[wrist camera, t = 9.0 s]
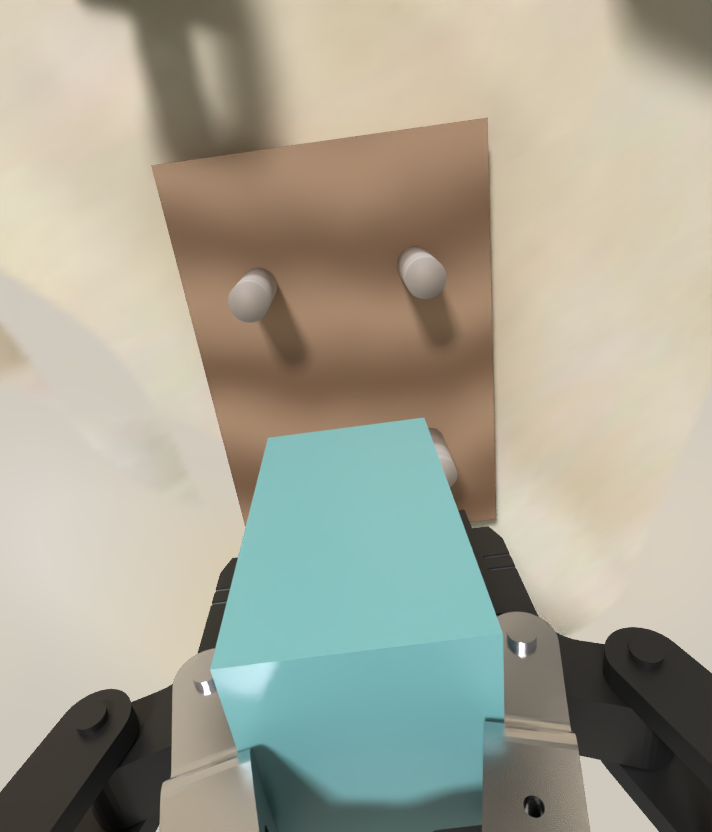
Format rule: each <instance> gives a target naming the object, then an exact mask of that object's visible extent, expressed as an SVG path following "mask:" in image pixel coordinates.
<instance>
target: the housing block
mask: <svg viewBox="0 0 712 832" xmlns="http://www.w3.org/2000/svg"><path fill="white" fill-rule="evenodd" d="M210 671H211V674H212V677H213V680H214V683H215V686H216V689H217V692H218V695H219V698H220V701H221V704H222V706H223V709H224V712H225V715H226V718H227V721H228V724H229V727H230V730H231V733H232V736H233V739H234V742H235V745H236V748H237V751H241V750H246V749H251V748H253V751H254V754H255V757H256V760H257V763H258V766H259V770H260V774H261V779H262V783H263V787H264V791H265V794H266V797H267V800H268V803H269V806H270V809H271V813H272V816H273V819H274V822H275V825H277V826H278V829H279V832H433V831H435V830H441V829H449V828H458V827H467V826H475V825H482V790H483V727H484V721H485V720H504V663H503V632H502V630H501V627H500V624H499V621H498V619H497V616H496V613H495V610H494V608H493V605H492V602H491V599H490V597H489V594H488V591H487V588H486V586H485V583H484V580H483V577H482V575H481V572H480V569H479V567H478V564H477V561H476V558H475V556H474V553H473V550H472V547H471V545H470V542H469V539H468V536H467V534H466V531H465V528H464V525H463V523H462V520H461V517H460V514H459V512H458V509H457V506H456V503H455V501H454V498H453V495H452V492H451V490H450V487H449V484H448V481H447V479H446V476H445V473H444V470H443V468H442V465H441V462H440V459H439V457H438V454H437V451H436V448H435V446H434V443H433V440H432V437H431V435H430V432H429V429H428V426H427V424H426V421H425V418H417V419H409V420H401V421H394V422H386V423H378V424H370V425H363V426H355V427H347V428H340V429H332V430H324V431H317V432H309V433H301V434H294V435H286V436H278V437H271V438H268V440H267V444H266V448H265V452H264V456H263V460H262V464H261V468H260V472H259V476H258V480H257V484H256V488H255V492H254V496H253V500H252V504H251V508H250V512H249V516H248V520H247V524H246V528H245V532H244V536H243V540H242V544H241V548H240V552H239V556H238V560H237V564H236V568H235V572H234V576H233V580H232V584H231V588H230V592H229V596H228V600H227V604H226V608H225V612H224V616H223V620H222V624H221V628H220V632H219V636H218V640H217V644H216V648H215V652H214V656H213V660H212V664H211V668H210Z"/></svg>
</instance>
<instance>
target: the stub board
mask: <svg viewBox="0 0 712 832" xmlns="http://www.w3.org/2000/svg"><path fill="white" fill-rule="evenodd" d="M151 166H152V170H153V174H154V178H155V181H156V185H157V189H158V193H159V197H160V201H161V204H162V208H163V212H164V216H165V220H166V224H167V228H168V231H169V235H170V239H171V243H172V247H173V251H174V254H175V258H176V262H177V266H178V270H179V274H180V277H181V281H182V285H183V289H184V293H185V297H186V300H187V304H188V308H189V312H190V316H191V320H192V324H193V327H194V331H195V335H196V339H197V343H198V347H199V350H200V354H201V358H202V362H203V366H204V370H205V373H206V377H207V381H208V385H209V389H210V393H211V397H212V400H213V404H214V408H215V412H216V416H217V420H218V423H219V427H220V431H221V435H222V439H223V443H224V446H225V450H226V454H227V458H228V462H229V466H230V469H231V473H232V477H233V481H234V485H235V489H236V493H237V496H238V500H239V504H240V507H241V512H242V516H243V519H244V523H245V527H246V524H247V520H248V516H249V512H250V508H251V504H252V500H253V496H254V492H255V488H256V484H257V480H258V476H259V472H260V468H261V464H262V460H263V456H264V452H265V448H266V444H267V440H268V438H271V437H278V436H286V435H294V434H301V433H309V432H317V431H324V430H332V429H340V428H347V427H355V426H363V425H370V424H378V423H386V422H394V421H401V420H409V419H417V418H425V421H426V424H427V426H428V429H429V432H430V435H431V437H432V440H433V443H434V446H435V448H436V451H437V454H438V457H439V459H440V462H441V465H442V468H443V470H444V473H445V476H446V479H447V481H448V484H449V487H450V490H451V492H452V495H453V498H454V501H455V503H456V506H457V509H458V510H461V509H464V510H465V512H466V514H467V517H468V520H469V522H474V521H482V520H490V519H496V488H495V442H494V396H493V349H492V303H491V257H490V210H489V164H488V118H482V119H475V120H468V121H461V122H454V123H447V124H440V125H433V126H426V127H419V128H412V129H405V130H398V131H391V132H384V133H377V134H369V135H362V136H355V137H348V138H341V139H334V140H327V141H320V142H313V143H306V144H299V145H292V146H285V147H278V148H271V149H264V150H256V151H249V152H242V153H235V154H228V155H221V156H214V157H207V158H200V159H193V160H186V161H179V162H172V163H165V164H158V165H151Z"/></svg>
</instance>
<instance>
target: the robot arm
mask: <svg viewBox="0 0 712 832" xmlns="http://www.w3.org/2000/svg"><path fill="white" fill-rule="evenodd" d="M458 512H459V514H460V517H461V520H462V523H463V525H464V528H465V531H466V534H467V536H468V539H469V542H470V545H471V547H472V550H473V553H474V556H475V558H476V561H477V564H478V567H479V569H480V572H481V575H482V577H483V580H484V583H485V586H486V588H487V591H488V594H489V597H490V599H491V602H492V605H493V608H494V610H495V613H496V616H497V619H498V621H499V624H500V627H501V630H502V632H503V663H504V720H485V721H484V727H483V790H482V825H475V826H467V827H458V828H449V829H441V830H435V831H433V832H590V826H589V819H588V812H587V805H586V798H585V791H584V785H583V777H582V771H581V764H580V757H579V755H580V756H586V757H590V758H595V759H599V760H601V761H602V763H603V764H604V765H605V767H606V768H607V769H608V770H609V772H610V773H611V774H612V775H613V776H614V777H615V779H616V780H617V781H618V783H619V784H620V785H621V786H622V787H623V788H624V790H625V791H626V792H627V793H628V794H629V796H630V797H631V798H632V799H633V801H634V802H635V803H636V804H637V805H638V807H639V808H640V809H641V810H642V812H643V813H644V814H645V815H646V816H647V818H648V819H649V820H650V821H651V822H652V823H653V825H654V826H655V827H656V828H657V830H658V831H659V832H712V673H710V672H709V671H708V670H707V669H706V668H704V667H703V666H702V665H701V664H700V663H698V662H697V661H696V660H695V659H694V658H692V657H691V656H690V655H689V654H687V653H686V652H685V651H684V650H683V649H681V648H680V647H679V646H678V645H676V644H675V643H674V642H673V641H671V640H670V639H669V638H667V637H665V636H663V635H662V634H659V633H657V632H655V631H652V630H649V629H644V628H636V627H629V628H623V629H619V630H617V631H615V632H613V633H612V634H611V635H610V636H609V637H608V638H607V640H606V642H605V644H599V643H592V642H586V641H579V640H574V639H570V638H567V637H565V636H562V635H560V634H558V633H556V632H555V630H554V629H553V628H552V627H551V626H550V625H549V624H548V623H547V622H546V621H545V620H543V619H542V618H540V617H539V616H538V615H537V613H536V611H535V608H534V606H533V604H532V602H531V600H530V597H529V595H528V593H527V591H526V589H525V586H524V584H523V582H522V580H521V578H520V576H519V573H518V571H517V569H516V568H515V565H514V562H513V560H512V558H511V556H510V555H509V551H508V549H507V547H506V545H505V543H504V540H503V538H502V537H500V536H499V535H498V534H497V533H496V532H494V531H493V530H492V529H491V528H490V527H480V528H472V527H471V525H470V522H469V520H468V517H467V514H466V512H465V510H464V509H461V510H458ZM237 560H238V558H232V559H231V561H230V562H229V563H228V564H227V566H226V567H225V568H224V569H223V571H222V572H221V574H220V576H219V580H218V584H217V587H216V592H215V594H214V597H213V601H212V606H211V608H210V612H209V615H208V619H207V622H206V626H205V629H204V633H203V637H202V640H201V644H200V647H199V651H198V654H197V655H195V656H193V657H192V658H191V659H189V660H188V661H187V662H186V663H185V664H184V665H183V666H182V667H181V668H180V670H179V671H178V673H177V674H176V676H175V679H174V682H173V684H172V685H170V686H169V687H167V688H165V689H163V690H161V691H158V692H156V693H153V694H151V695H148V696H146V697H143V698H141V699H138V700H136V701H133V702H131V701H130V699H129V697H128V696H127V695H126V693H124V692H123V691H120V690H116V689H106V690H101V691H98V692H95V693H93V694H90V695H88V696H87V697H85V698H83V699H81V700H80V701H79V702H77V703H76V704H75V705H74V706H72V707H71V708H70V709H69V710H68V711H67V712H66V714H65V715H64V716H63V717H62V718H61V719H60V721H59V722H58V723H57V724H56V726H55V727H54V728H53V729H52V730H51V732H50V733H49V734H48V735H47V737H46V738H45V739H44V740H43V741H42V742H41V744H40V745H39V746H38V747H37V748H36V750H35V751H34V752H33V753H32V754H31V756H30V757H29V758H28V759H27V761H26V762H25V763H24V764H23V765H22V767H21V768H20V769H19V770H18V771H17V773H16V774H15V775H14V776H13V777H12V779H11V780H10V781H9V782H8V784H7V785H6V786H5V787H4V788H3V790H2V791H1V792H0V832H155V831H156V830H157V828H158V826H159V824H160V826H159V828H160V829H159V832H279V829H278V826H277V825H275V822H274V819H273V816H272V813H271V809H270V806H269V803H268V800H267V797H266V794H265V791H264V787H263V783H262V779H261V774H260V770H259V766H258V763H257V760H256V757H255V754H254V751H253V748H251V749H246V750H241V751H237V748H236V745H235V742H234V739H233V736H232V733H231V730H230V727H229V724H228V721H227V718H226V715H225V712H224V709H223V706H222V704H221V701H220V698H219V695H218V692H217V689H216V686H215V683H214V680H213V677H212V674H211V671H210V668H211V664H212V660H213V656H214V652H215V648H216V644H217V640H218V636H219V632H220V628H221V624H222V620H223V616H224V612H225V608H226V604H227V600H228V596H229V592H230V588H231V584H232V580H233V576H234V572H235V568H236V564H237Z"/></svg>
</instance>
